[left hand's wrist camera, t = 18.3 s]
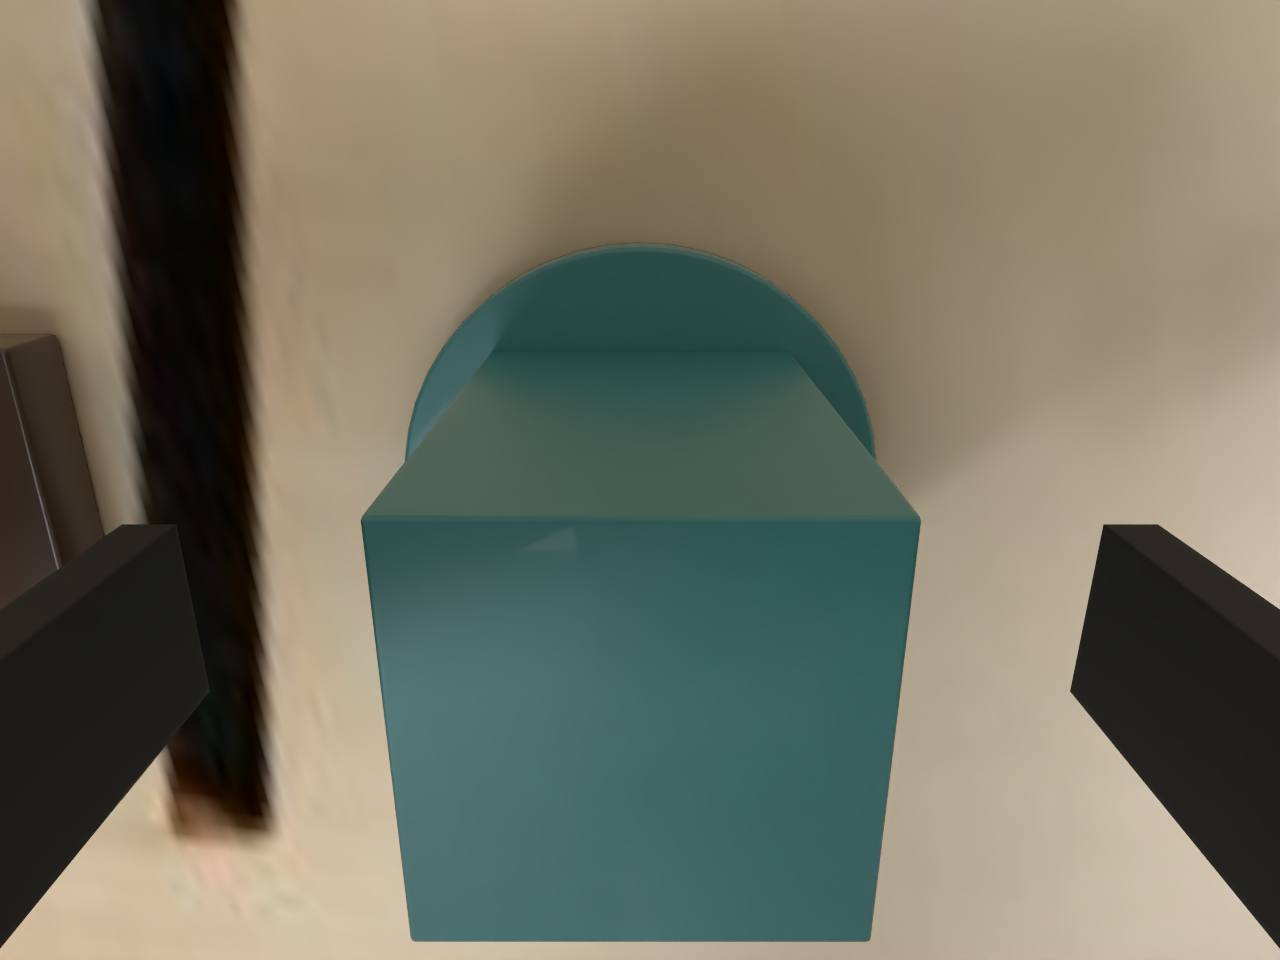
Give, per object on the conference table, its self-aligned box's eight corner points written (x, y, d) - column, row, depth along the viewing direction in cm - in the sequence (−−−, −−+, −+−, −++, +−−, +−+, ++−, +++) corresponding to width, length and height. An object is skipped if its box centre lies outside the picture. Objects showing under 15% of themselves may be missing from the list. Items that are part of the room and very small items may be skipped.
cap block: (885, 242, 16) (1152, 326, 8) (845, 665, 19) (1004, 1054, 11) (395, 241, 16) (129, 326, 8) (435, 665, 19) (277, 1054, 11)
